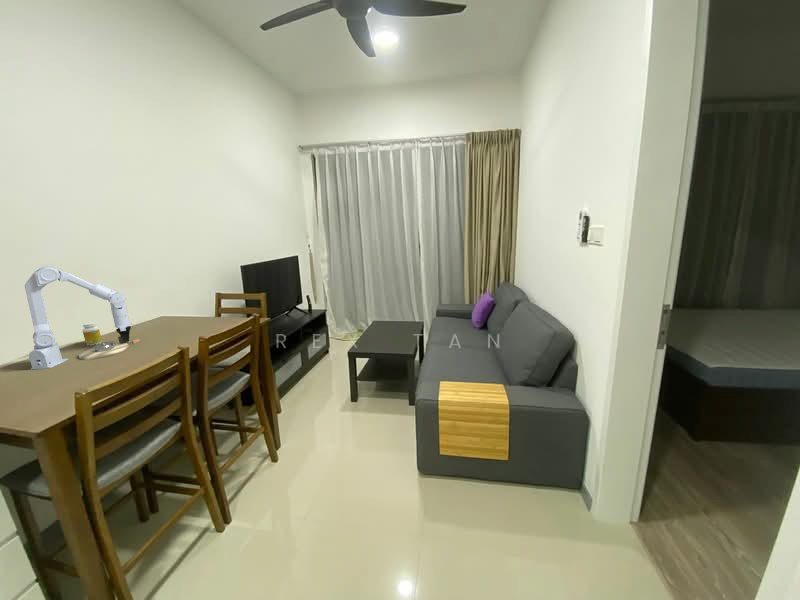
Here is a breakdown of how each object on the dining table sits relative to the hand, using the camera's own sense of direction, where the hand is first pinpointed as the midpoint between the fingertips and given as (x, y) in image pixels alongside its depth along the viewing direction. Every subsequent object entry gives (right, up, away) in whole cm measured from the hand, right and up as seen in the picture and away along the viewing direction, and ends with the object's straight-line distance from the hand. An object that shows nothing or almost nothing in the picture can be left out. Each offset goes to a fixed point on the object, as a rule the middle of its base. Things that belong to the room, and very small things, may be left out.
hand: (126, 341), depth 164 cm
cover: (-4, -3, -8) cm, 9 cm away
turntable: (-4, -4, -7) cm, 10 cm away
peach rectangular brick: (0, -1, +5) cm, 6 cm away
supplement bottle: (-22, -2, +6) cm, 23 cm away
